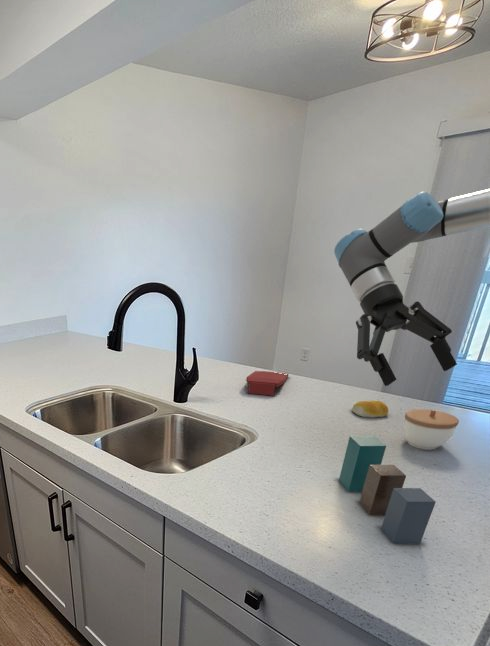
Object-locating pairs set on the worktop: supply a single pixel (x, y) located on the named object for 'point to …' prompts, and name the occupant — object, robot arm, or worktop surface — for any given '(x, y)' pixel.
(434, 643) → the worktop surface
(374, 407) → the bread roll
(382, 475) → the walnut block
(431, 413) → the trinket box
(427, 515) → the slate block
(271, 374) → the carton
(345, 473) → the teal block
